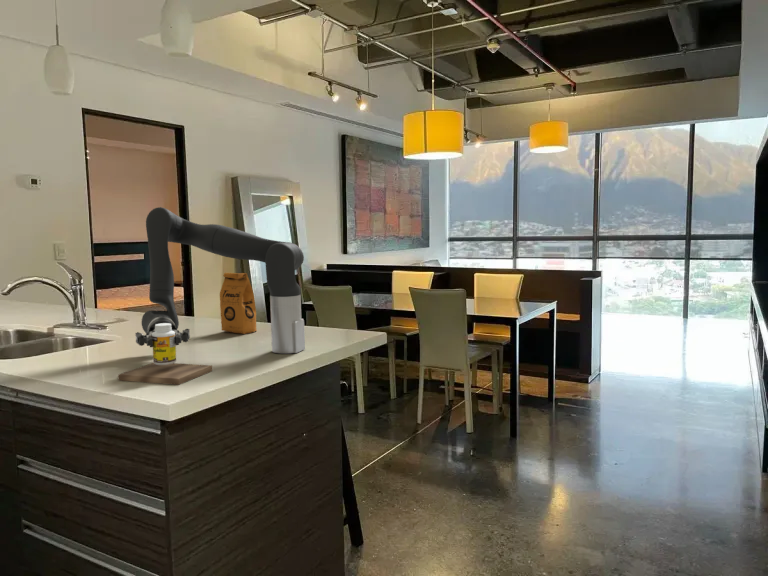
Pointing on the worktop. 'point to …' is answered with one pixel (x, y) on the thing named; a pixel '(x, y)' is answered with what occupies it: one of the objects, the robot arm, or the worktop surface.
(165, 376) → the walnut board
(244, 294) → the coffee package
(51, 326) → the worktop surface
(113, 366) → the worktop surface
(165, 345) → the supplement bottle
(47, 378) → the worktop surface
